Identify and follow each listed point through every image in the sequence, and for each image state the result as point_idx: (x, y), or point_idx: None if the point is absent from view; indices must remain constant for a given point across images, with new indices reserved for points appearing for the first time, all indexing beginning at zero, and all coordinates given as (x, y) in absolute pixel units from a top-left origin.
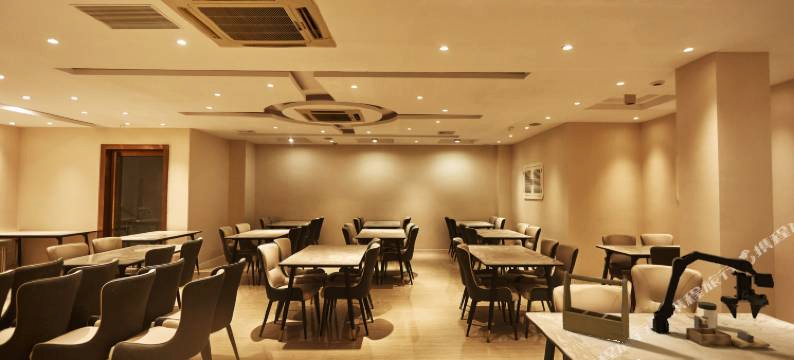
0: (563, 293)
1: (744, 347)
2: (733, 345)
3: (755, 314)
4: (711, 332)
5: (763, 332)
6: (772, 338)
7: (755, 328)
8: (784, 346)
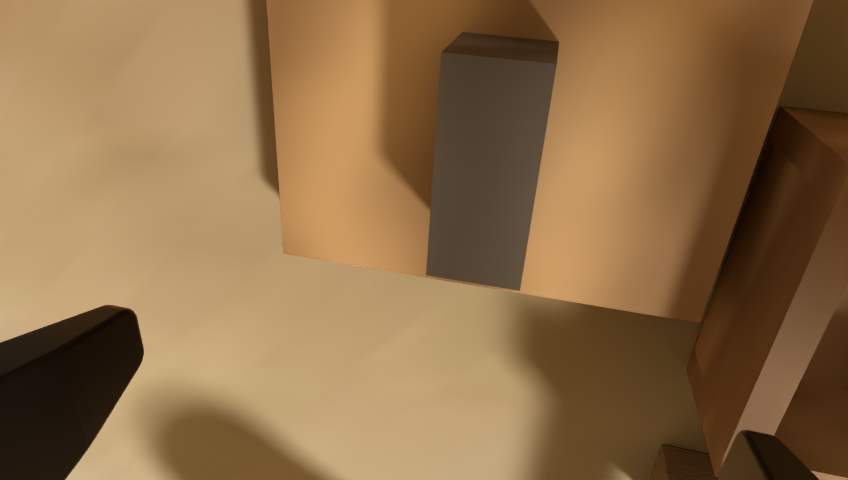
0: None
1: None
2: None
3: (11, 385)
4: (790, 424)
5: None
6: (20, 258)
7: None
8: (37, 32)
